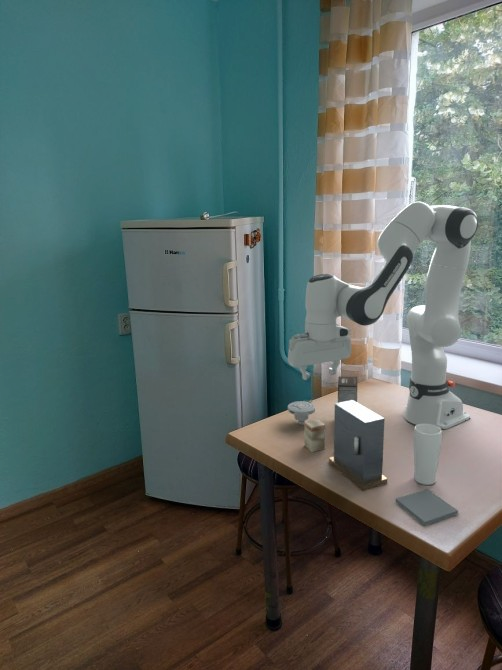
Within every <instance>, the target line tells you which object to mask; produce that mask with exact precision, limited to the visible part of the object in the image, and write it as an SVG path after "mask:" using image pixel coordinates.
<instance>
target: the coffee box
mask: <svg viewBox="0 0 502 670" xmlns="http://www.w3.org/2000/svg"><path fill="white" fill-rule="evenodd" d="M337 380H338V381H337V382H338V383H337V403H340V402H345V401H350V400H354V401H356V402H357V403H358V376H338V379H337Z"/></svg>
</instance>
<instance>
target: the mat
mask: <svg viewBox="0 0 502 670" xmlns="http://www.w3.org/2000/svg"><path fill="white" fill-rule="evenodd" d="M395 503H396V504H397V505H398V506H400V507H401V508H402V509H404V510H405V511H406V512H407V513H408V514H410V515H411V516H412V517H413V518H414V519H416V520H417V521H418V522H419V523H421V524H422V525H423V526H428V525H430V524H433V523H437V522H439V521H442V520H445V519H447V518H448V519H449V518H451V517H453V516H454V517H455V516H457V515H459V510H458V509H457V508H456V507H454V506H452V505H451V504H450V503H448V502H447V501H446V500H444V499H443V498H441V497H439V496H438V495H437V494H436V493H434V492H433V491H431V490H429V489H428V488H426V489H422V490H419V491H416V492H412V493H409V494H406V495H404V496H400V497H397V498H395Z"/></svg>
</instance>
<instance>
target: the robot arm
mask: <svg viewBox="0 0 502 670" xmlns="http://www.w3.org/2000/svg"><path fill="white" fill-rule="evenodd" d="M478 227H479V220H478V216H477V214H476V212H475V211H474V210H472V209H470V208H468V207H463V206H454V205H447V204H446V205H445V204H442V205H429V204H427V203H425V202H422V201H413V202H412V203H410V204H408V205H407V206H405V207H404V208H403V209H402V210H401V211H400V212H399V213H397V214H396V215H395V217H393V218H392V220H390V222H388V224H387V225H386V226H385V228H384V229H383V230H382V232H381V233H380V235H379V237H378V238H377V249H378V252H379V254H380V255H381V256H382V258H383V259H384V260H385V263H384V265H383V266H382V268H381V269H380V271H379V272H378V274H377V275H376V277H374V279H373V280H372V282H371V283H370V284H369V285H367V286H363V287H362V286H356V285H353V284H350V283H347V282H345V281H342V280H340V279H339V278H338V277H336V276H335V275H334V274H331V273H321V274H317V275H316V274H315V275H314V276H312V277H310V278H309V279H308V281H307V285H306V287H305V290H306V291H305V301H304V302H305V310H306V314H305V315H306V317H305V321H304V332H303V333H300V334H294V335H293V336H291V337H290V339H289V341H288V351H287V353H288V354H287V364H289V366H291V367H293V368H298V369H299V370H300V372H301V378H302V380H304V381H306V380H307V381H308V380H310V379H311V378H310V376H311V375H310V373H308V372H307V369H308V366H312V365H318V364H324V363H329V362H330V363H332V365H331V367H329V368H328V374H329V375H331V376H333V375H334V376H335V375H336V374H337V370H338V368H339V365H340V364H341V363H340V362H341V360H346V359H349V358H350V357H351V356H352V339H351V337H350V336H351V331H352V330H351V329H350V328H347V327H345V326H343V325H339V324H337V318H339V317H341V318H345V319H346V320H350V321H352V322H354V323H355V324H356V323H357V324H358V325H359V326H364V327H366V326H367V327H368V326H371V325H372V324H373V325H374V324H375V323H376V322H377V321H379V319H380V318H381V317H382V315H383V313H384V310H385V309H386V305H387V303H388V302H389V299H390V298H391V296H392V295H393V293H394V292H395V290H396V288H397V287H398V285H399V284H400V282H401V281H402V280H403V278H404V277H405V275H406V273H407V272H408V270H409V269H410V267H411V266H412V263H413V259H414V254H415V252H416V251H417V249H418V248H419V247H420V246H421V245H422V243H423V242H424V240H425V241H427V242H431V243H435V249H434V251H433V254H432V257H431V260H430V263H429V268H428V270H427V275H426V278H425V282H424V285H423V291H424V295H425V297H424V298H425V301H424V303H425V304H424V305H423V304H421V305H416V306H413V307H412V308H410V309H409V311H407V314H406V320H405V322H406V325H407V329H408V333H409V334H408V335H409V344H410V349H411V374H410V377H409V382H408V383H409V384H408V390H409V393H408V398H407V403H406V407H405V411H404V414H403V418H404V420H406V421H407V422H409V423H411V424H413V425H415V426H416V425H418V424H432V425H435V426H438V427H439V428H440V429H441V430H447V429H449V428H452V427H454V426H456V425H457V426H458V425H459V424H461V423H463V422H465V420H466V421H468V420H470V419H471V415H470V414H469V413H468V412H467V411H466V410H464V403H463V401H462V399H460V398H459V396H457V395H456V394H454V393H453V392H451V391H450V388H453V389H454V388H455V387H456V383H455V381H452V380H447V368H448V357H447V356H446V352H445V349H444V348H447V347H448V348H449V347H451V346H452V345H454V344H456V343H457V342H458V341H459V339H460V337H461V335H462V328H461V324H460V320H459V313H460V311H459V309H460V295H461V291H462V287H463V283H464V280H465V277H466V273H467V269H468V267H469V261H470V256H471V246H472V244H471V243H472V242H471V241H472V240H473V238H474V236H475V234H476V233H477V232H478V231H477V230H478ZM449 387H450V388H449ZM469 418H470V419H469Z"/></svg>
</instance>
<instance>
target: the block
mask: <svg viewBox="0 0 502 670" xmlns="http://www.w3.org/2000/svg"><path fill="white" fill-rule="evenodd" d="M325 425H326V424H324V423H323V422H322V421H320V420H319V419H317V418H316V419H312V420H305V422H304V424H303V426H304V447H306V449H308V450H309V451H310V452H311V453H313V452H317V451H321V450H325V447H326V446H325V444H326V443H325V441H326V440H325V438H326V436H325V435H326V434H325V433H326V426H325Z"/></svg>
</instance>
